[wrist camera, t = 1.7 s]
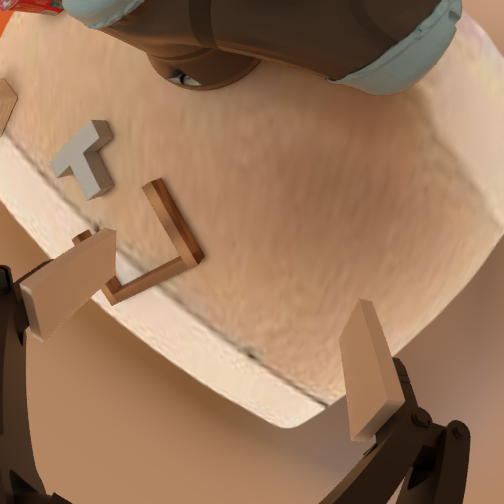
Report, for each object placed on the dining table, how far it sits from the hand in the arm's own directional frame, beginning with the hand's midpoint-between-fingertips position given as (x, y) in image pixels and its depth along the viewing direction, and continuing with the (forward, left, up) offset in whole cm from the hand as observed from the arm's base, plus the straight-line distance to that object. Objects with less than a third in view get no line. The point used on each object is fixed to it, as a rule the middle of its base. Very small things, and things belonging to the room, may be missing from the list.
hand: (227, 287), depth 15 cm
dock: (-4, -19, -23) cm, 30 cm away
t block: (-17, -19, -23) cm, 34 cm away
